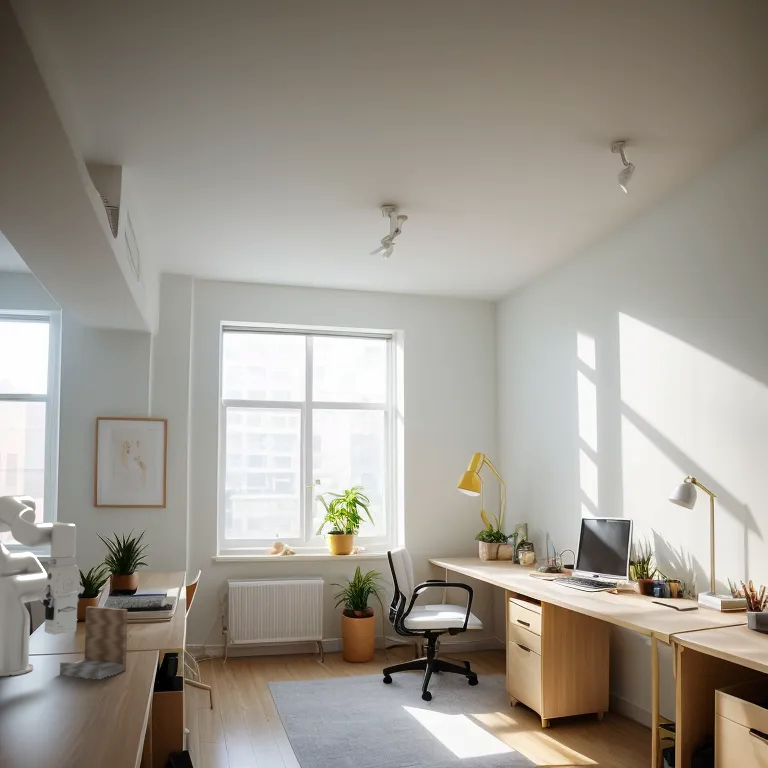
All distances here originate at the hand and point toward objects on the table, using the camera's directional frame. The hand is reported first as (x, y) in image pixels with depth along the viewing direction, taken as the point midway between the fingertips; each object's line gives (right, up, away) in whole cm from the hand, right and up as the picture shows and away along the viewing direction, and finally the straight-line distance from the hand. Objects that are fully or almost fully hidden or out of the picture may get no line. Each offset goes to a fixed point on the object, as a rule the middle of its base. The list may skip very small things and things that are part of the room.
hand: (61, 617), depth 245 cm
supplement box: (0, -5, -1) cm, 5 cm away
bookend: (+8, -21, +7) cm, 23 cm away
